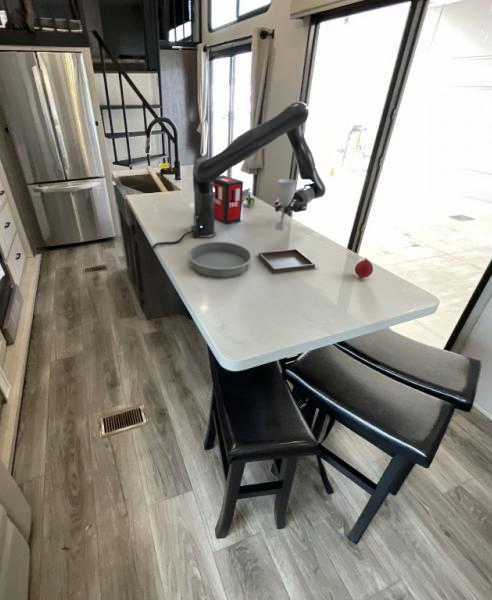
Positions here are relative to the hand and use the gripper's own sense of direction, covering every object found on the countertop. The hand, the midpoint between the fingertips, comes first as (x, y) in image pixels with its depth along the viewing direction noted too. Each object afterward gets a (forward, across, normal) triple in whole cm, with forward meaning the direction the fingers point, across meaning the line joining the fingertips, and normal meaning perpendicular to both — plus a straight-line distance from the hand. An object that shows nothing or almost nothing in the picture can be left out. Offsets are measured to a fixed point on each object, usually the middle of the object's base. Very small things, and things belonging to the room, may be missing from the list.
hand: (280, 209), depth 119 cm
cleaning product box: (-28, -43, +20) cm, 55 cm away
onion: (-3, +33, +20) cm, 39 cm away
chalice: (-3, 0, +8) cm, 9 cm away
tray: (+2, +6, +20) cm, 20 cm away
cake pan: (+19, -14, +20) cm, 31 cm away
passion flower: (-56, -46, +20) cm, 75 cm away
